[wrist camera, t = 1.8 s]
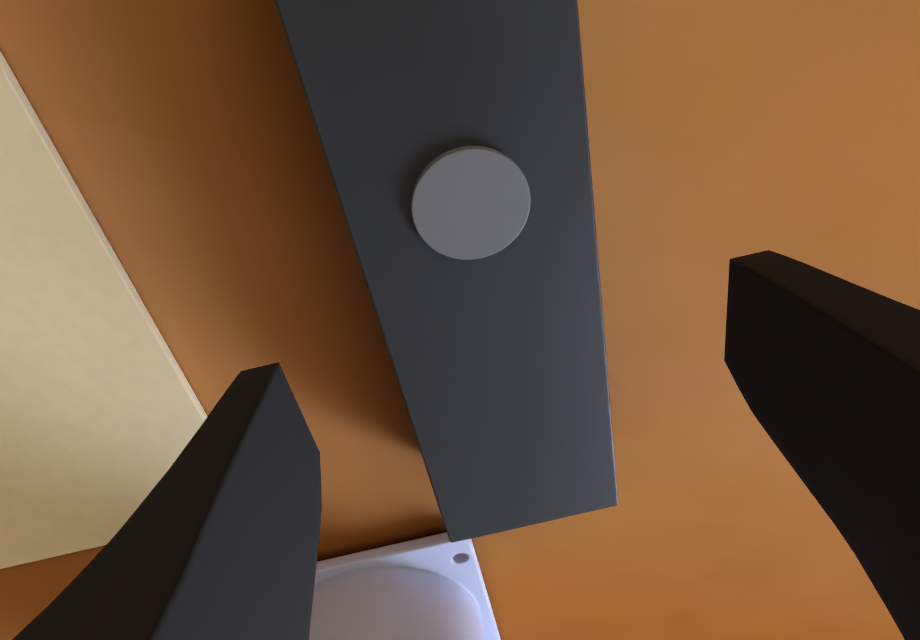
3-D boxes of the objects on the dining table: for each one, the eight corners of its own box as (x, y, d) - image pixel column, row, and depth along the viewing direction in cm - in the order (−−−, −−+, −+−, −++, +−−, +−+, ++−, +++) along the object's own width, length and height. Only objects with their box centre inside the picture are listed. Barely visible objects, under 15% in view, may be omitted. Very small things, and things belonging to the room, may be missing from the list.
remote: (587, 428, 20) (620, 510, 17) (439, 461, 20) (450, 548, 17) (511, -256, 11) (557, -295, 8) (240, -192, 11) (202, -212, 8)
